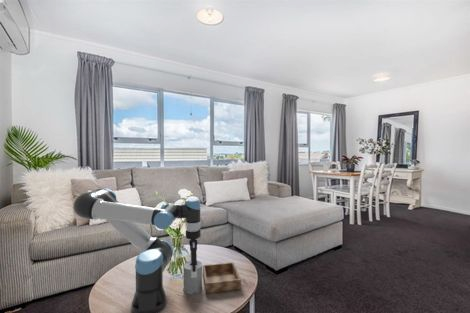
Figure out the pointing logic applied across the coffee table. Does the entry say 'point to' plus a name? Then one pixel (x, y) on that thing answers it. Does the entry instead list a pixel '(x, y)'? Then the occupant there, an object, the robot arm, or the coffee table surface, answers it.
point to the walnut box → (221, 278)
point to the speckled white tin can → (192, 279)
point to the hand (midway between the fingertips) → (193, 270)
